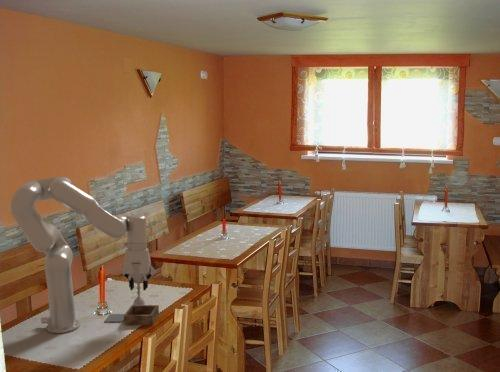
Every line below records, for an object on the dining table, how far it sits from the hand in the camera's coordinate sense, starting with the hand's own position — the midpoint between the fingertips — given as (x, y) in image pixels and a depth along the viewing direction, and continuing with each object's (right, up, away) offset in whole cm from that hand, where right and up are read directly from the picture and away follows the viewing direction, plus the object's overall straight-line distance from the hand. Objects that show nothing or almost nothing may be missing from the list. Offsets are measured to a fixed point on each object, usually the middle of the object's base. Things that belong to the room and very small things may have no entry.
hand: (138, 288), depth 231 cm
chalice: (0, -7, +1) cm, 7 cm away
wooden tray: (+1, -13, +2) cm, 13 cm away
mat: (-10, -13, +4) cm, 17 cm away
